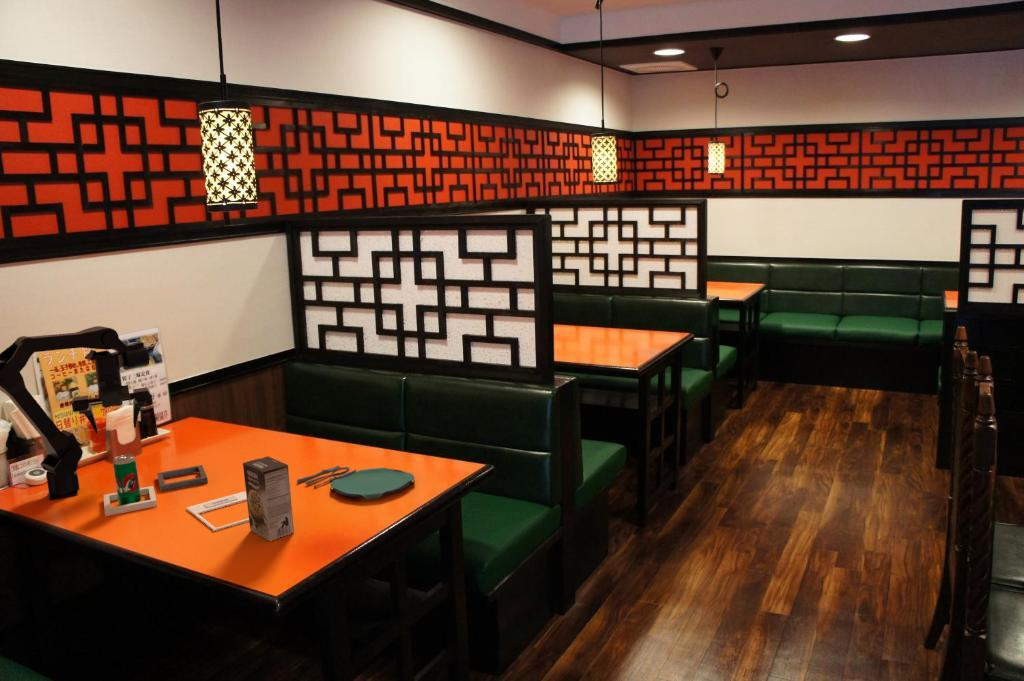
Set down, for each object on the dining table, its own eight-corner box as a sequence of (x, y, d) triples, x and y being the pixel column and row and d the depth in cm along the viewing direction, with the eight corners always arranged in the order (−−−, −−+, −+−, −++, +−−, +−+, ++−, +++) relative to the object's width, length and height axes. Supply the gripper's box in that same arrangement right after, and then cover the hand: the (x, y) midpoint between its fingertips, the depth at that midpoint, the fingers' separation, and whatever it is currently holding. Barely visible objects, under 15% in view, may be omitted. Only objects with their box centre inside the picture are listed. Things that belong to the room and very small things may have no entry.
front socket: (105, 516, 196) (104, 510, 196) (104, 500, 206) (103, 494, 206) (157, 506, 201) (156, 500, 201) (153, 491, 211) (153, 485, 211)
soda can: (145, 499, 206) (139, 453, 204) (134, 507, 201) (127, 460, 199) (126, 499, 207) (119, 453, 204) (114, 507, 202) (108, 460, 199)
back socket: (161, 491, 211) (160, 486, 211) (157, 478, 221) (156, 473, 221) (207, 482, 216) (207, 477, 216) (202, 470, 226) (201, 465, 226)
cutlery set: (373, 508, 195) (372, 499, 194) (289, 487, 212) (288, 479, 212) (428, 483, 210) (428, 474, 210) (347, 465, 228) (346, 457, 227)
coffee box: (248, 531, 184) (241, 462, 181) (275, 522, 189) (268, 454, 186) (269, 542, 178) (261, 471, 175) (295, 533, 182) (288, 463, 179)
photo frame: (244, 490, 208) (275, 510, 194) (245, 494, 208) (276, 514, 194) (186, 506, 198) (213, 528, 185) (186, 511, 199) (214, 533, 185)
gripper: (67, 385, 207) (76, 444, 210) (148, 374, 215) (155, 431, 218) (68, 376, 217) (77, 433, 220) (145, 366, 225) (152, 421, 228)
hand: (116, 430), depth 221 cm, fingers open, 9 cm apart
